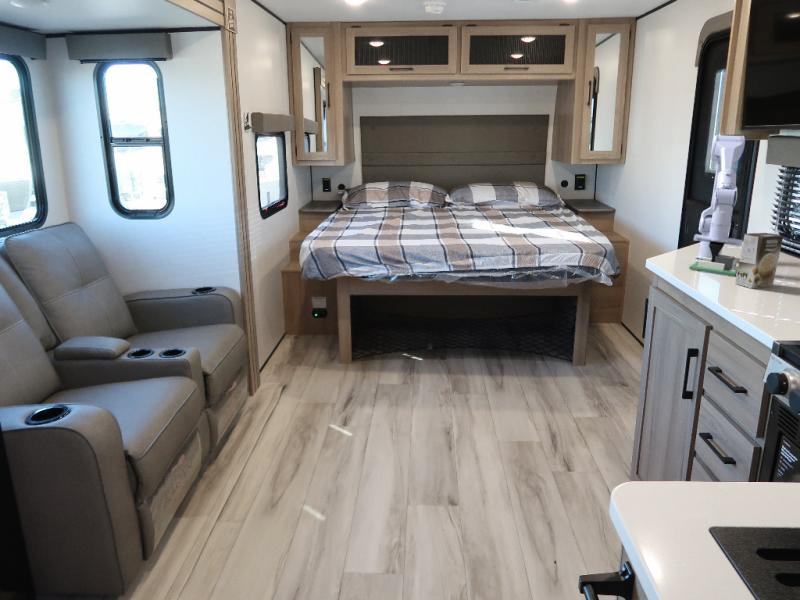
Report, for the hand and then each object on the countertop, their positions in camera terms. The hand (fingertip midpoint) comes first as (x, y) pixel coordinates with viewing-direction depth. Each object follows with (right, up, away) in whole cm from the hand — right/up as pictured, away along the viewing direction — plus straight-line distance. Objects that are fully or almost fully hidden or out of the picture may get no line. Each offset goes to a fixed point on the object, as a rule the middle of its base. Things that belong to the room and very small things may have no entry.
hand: (713, 263), depth 210 cm
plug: (+2, -1, -2) cm, 3 cm away
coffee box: (+3, -8, -19) cm, 20 cm away
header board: (+1, -2, 0) cm, 2 cm away
